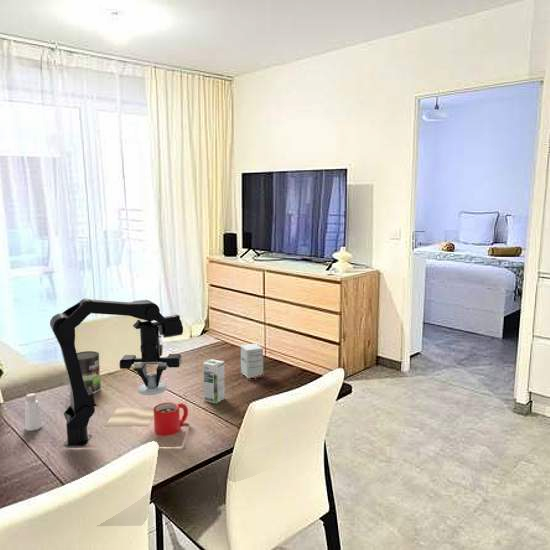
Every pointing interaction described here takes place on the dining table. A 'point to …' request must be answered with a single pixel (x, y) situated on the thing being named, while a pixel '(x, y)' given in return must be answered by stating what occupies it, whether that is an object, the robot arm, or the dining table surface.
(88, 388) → the robot arm
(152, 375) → the lid
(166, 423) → the mug
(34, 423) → the pepper shaker
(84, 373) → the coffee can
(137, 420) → the mat
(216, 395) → the syrup box
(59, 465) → the dining table surface
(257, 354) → the supplement box
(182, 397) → the dining table surface
